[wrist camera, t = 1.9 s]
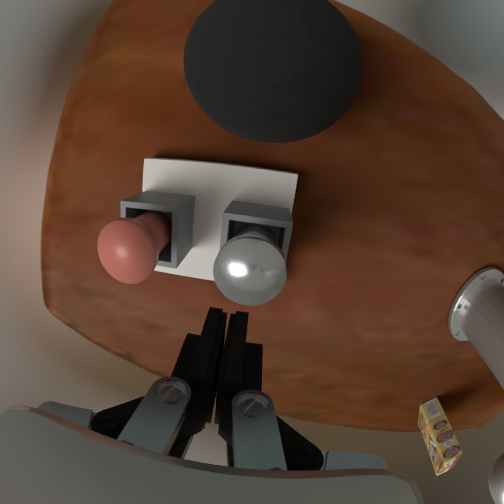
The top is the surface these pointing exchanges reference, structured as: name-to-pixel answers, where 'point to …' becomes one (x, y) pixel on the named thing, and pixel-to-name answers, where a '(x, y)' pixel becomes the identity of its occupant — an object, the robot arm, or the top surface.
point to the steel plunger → (250, 266)
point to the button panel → (211, 208)
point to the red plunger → (134, 245)
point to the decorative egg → (273, 67)
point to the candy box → (438, 436)
